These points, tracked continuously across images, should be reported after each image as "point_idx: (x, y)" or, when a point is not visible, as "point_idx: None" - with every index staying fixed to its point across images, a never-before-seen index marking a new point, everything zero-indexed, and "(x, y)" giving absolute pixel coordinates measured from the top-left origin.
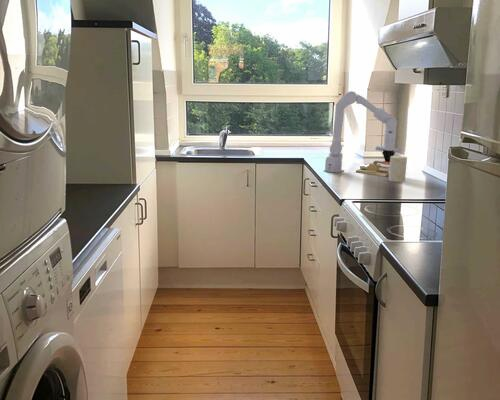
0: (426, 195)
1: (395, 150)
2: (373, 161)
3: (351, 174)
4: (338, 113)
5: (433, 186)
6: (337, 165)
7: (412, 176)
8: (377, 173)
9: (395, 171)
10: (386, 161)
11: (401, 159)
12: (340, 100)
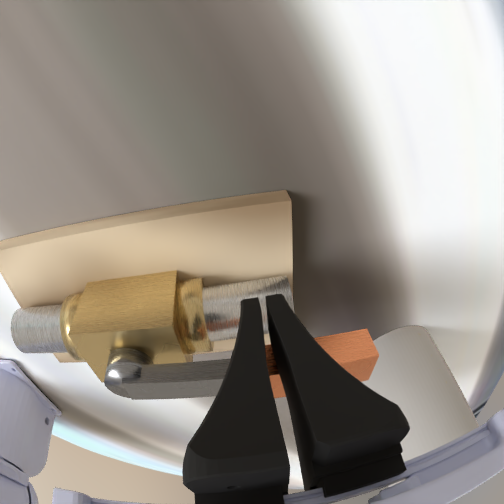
0: (469, 404)
1: (430, 479)
2: (127, 395)
3: (117, 401)
4: None
5: None
6: (35, 428)
7: (459, 161)
8: (225, 347)
9: None
10: (276, 382)
11: None
12: None
